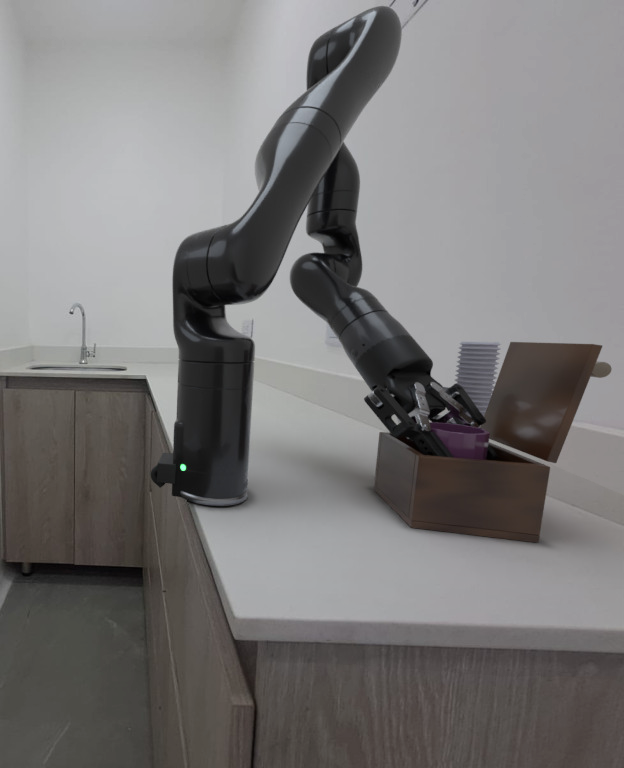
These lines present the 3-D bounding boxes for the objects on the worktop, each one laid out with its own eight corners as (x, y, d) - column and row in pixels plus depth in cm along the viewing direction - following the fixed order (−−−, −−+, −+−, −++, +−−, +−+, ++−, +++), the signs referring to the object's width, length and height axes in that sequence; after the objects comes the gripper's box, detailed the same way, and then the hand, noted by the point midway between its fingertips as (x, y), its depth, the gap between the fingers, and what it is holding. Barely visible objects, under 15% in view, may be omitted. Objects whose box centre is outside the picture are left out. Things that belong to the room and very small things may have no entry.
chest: (410, 527, 43) (419, 456, 42) (373, 489, 54) (379, 431, 53) (538, 543, 41) (550, 466, 40) (472, 499, 51) (480, 438, 50)
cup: (429, 509, 45) (438, 431, 44) (406, 490, 51) (414, 420, 50) (491, 516, 44) (502, 436, 43) (460, 495, 49) (470, 424, 48)
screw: (519, 501, 51) (542, 343, 48) (438, 492, 53) (457, 341, 51) (481, 478, 59) (500, 342, 56) (413, 471, 61) (428, 340, 59)
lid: (592, 343, 38) (651, 353, 37) (510, 341, 48) (554, 348, 47) (546, 461, 40) (601, 473, 39) (477, 434, 50) (518, 443, 49)
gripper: (358, 332, 50) (447, 452, 40) (444, 333, 54) (546, 443, 44) (322, 370, 56) (393, 483, 46) (402, 369, 59) (484, 473, 50)
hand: (467, 463), depth 45 cm, fingers closed on cup, 6 cm apart
